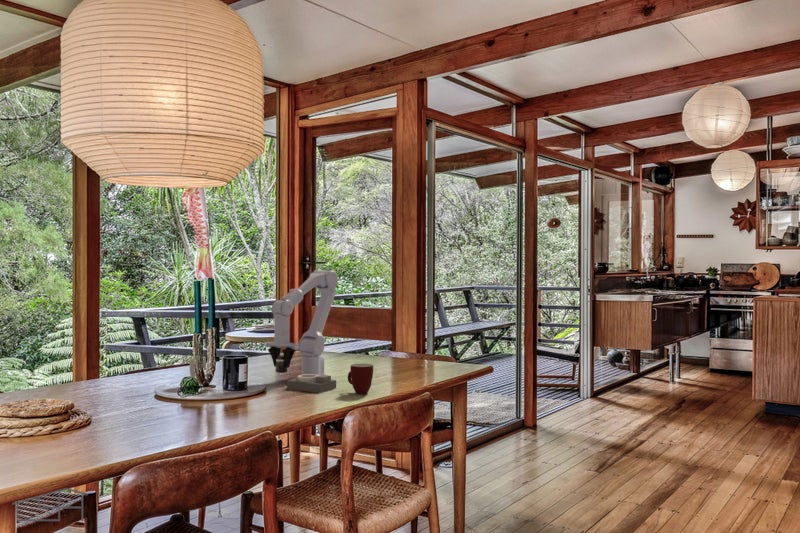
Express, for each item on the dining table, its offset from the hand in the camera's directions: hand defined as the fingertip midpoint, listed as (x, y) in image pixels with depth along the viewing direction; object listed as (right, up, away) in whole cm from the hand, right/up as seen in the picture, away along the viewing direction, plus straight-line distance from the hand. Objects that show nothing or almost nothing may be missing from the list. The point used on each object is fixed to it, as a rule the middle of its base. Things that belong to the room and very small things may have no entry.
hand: (281, 366), depth 242 cm
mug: (+31, -7, -18) cm, 37 cm away
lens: (0, -2, 0) cm, 2 cm away
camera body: (+13, -6, -11) cm, 18 cm away
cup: (-28, -6, -9) cm, 30 cm away
